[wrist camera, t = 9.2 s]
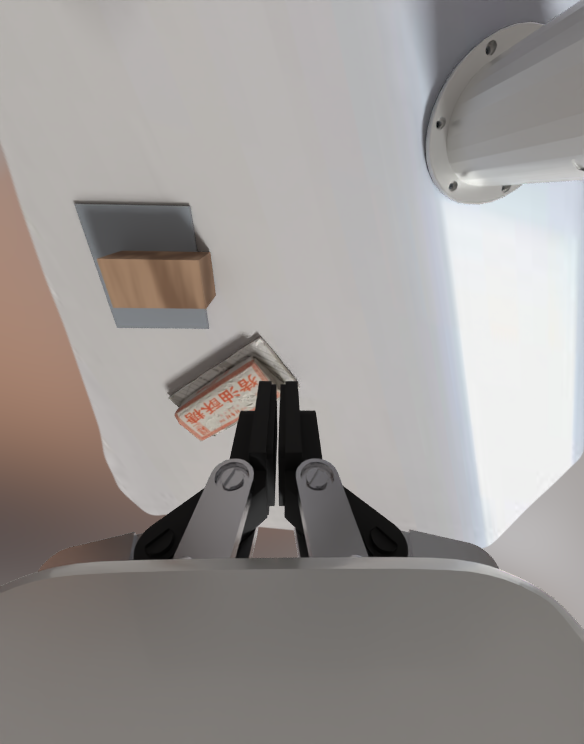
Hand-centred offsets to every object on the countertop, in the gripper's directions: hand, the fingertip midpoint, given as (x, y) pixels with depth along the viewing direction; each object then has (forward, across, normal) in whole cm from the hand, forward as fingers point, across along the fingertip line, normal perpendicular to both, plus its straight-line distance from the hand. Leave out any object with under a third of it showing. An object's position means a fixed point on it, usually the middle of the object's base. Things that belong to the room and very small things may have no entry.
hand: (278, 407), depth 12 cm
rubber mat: (+25, +16, 0) cm, 30 cm away
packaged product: (+26, +8, +17) cm, 32 cm away
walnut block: (+22, +8, 0) cm, 24 cm away
